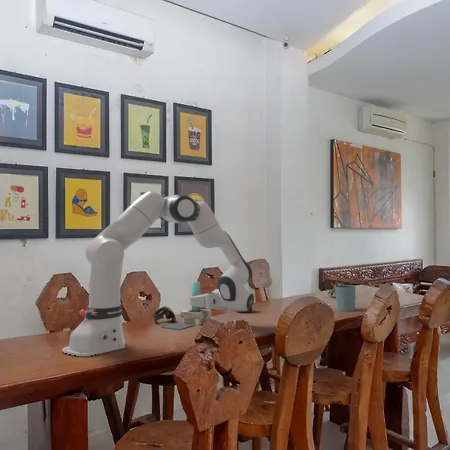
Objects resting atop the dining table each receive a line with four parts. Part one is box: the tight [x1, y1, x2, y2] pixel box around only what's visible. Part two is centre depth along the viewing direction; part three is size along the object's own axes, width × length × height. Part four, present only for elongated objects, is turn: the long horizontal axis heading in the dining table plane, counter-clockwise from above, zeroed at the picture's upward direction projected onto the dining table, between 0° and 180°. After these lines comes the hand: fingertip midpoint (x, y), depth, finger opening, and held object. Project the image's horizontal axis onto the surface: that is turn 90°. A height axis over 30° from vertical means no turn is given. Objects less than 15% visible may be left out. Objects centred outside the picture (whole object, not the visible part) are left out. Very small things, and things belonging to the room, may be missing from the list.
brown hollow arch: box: [152, 305, 177, 323], centre depth 205 cm, size 12×10×8 cm
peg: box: [190, 281, 202, 312], centre depth 204 cm, size 4×4×18 cm
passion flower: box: [325, 281, 346, 298], centre depth 269 cm, size 11×11×12 cm
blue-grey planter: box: [335, 284, 356, 312], centre depth 228 cm, size 10×10×12 cm
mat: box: [160, 322, 195, 331], centre depth 194 cm, size 10×10×1 cm
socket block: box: [180, 308, 213, 326], centre depth 204 cm, size 10×10×5 cm
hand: (194, 297), depth 204 cm, fingers closed on peg, 4 cm apart
